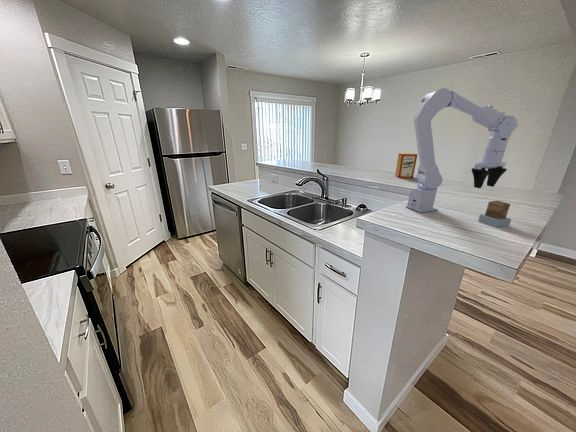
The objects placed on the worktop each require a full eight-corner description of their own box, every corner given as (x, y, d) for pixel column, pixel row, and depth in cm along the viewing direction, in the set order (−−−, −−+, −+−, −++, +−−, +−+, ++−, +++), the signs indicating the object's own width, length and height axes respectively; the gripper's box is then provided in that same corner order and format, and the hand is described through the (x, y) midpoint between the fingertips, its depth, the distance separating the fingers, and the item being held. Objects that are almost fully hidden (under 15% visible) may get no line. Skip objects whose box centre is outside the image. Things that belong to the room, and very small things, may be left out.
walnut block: (497, 219, 79) (501, 205, 77) (484, 215, 83) (489, 201, 81) (505, 217, 80) (510, 203, 78) (493, 214, 84) (497, 200, 82)
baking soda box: (409, 176, 164) (413, 152, 158) (412, 178, 158) (417, 153, 152) (395, 176, 165) (398, 152, 159) (398, 177, 159) (402, 153, 153)
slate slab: (495, 228, 79) (498, 220, 78) (477, 222, 85) (480, 214, 83) (508, 227, 80) (511, 218, 79) (490, 220, 86) (493, 213, 85)
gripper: (494, 152, 81) (482, 190, 86) (519, 151, 86) (507, 187, 91) (472, 150, 87) (463, 186, 92) (497, 149, 92) (487, 183, 97)
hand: (483, 186), depth 92 cm, fingers open, 7 cm apart
